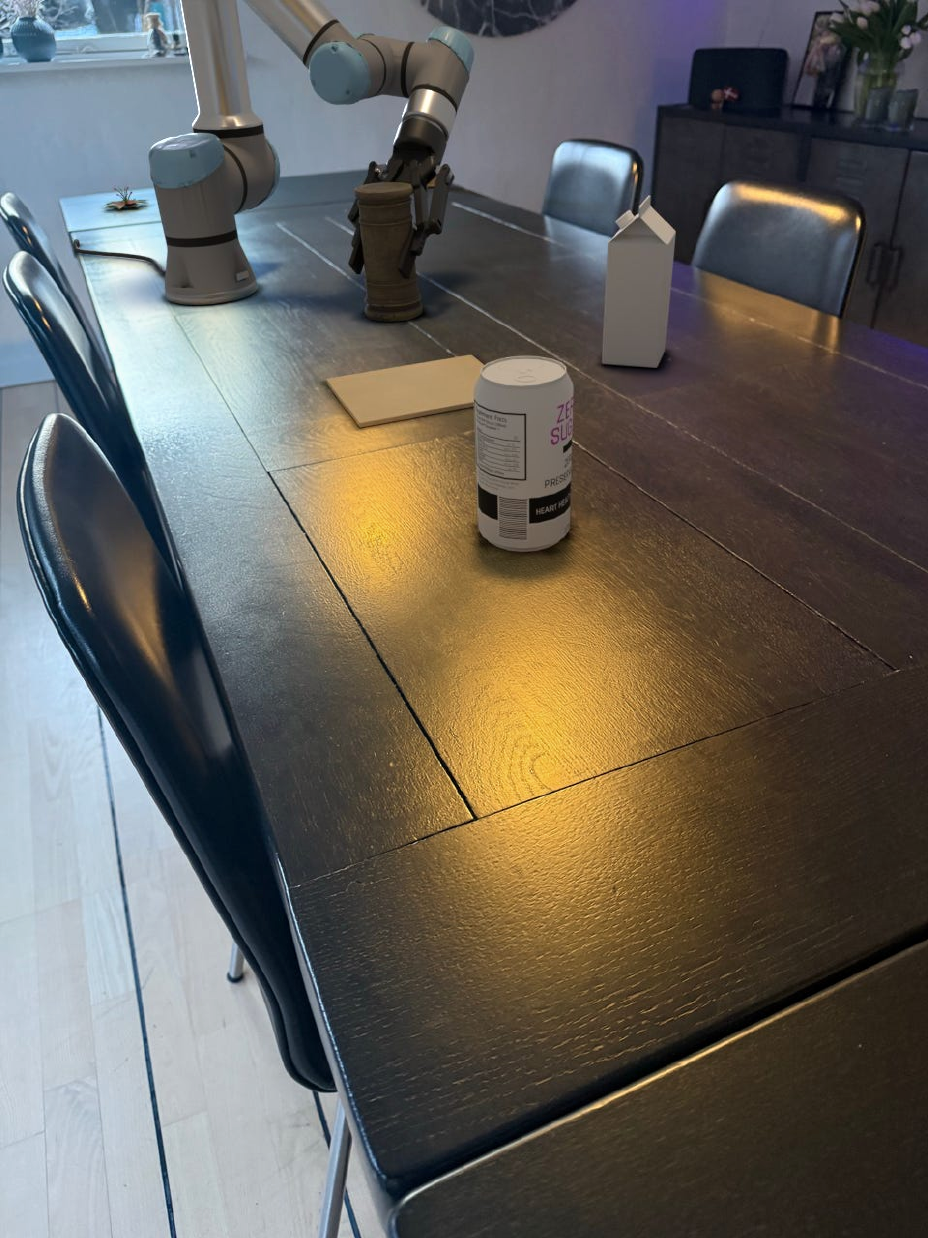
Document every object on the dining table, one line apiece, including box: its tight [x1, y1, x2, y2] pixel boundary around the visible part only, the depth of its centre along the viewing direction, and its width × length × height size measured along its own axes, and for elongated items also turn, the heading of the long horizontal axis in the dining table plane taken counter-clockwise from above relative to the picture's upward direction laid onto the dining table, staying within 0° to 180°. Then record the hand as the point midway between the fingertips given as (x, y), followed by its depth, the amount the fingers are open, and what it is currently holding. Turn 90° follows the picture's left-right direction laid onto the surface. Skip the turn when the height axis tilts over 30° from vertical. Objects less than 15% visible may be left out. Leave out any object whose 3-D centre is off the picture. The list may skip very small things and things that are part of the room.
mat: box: [325, 354, 485, 429], centre depth 111 cm, size 16×20×1 cm
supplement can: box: [473, 355, 575, 553], centre depth 77 cm, size 8×8×15 cm
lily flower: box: [102, 186, 148, 210], centre depth 222 cm, size 12×12×5 cm
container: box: [354, 182, 424, 323], centre depth 133 cm, size 9×9×18 cm
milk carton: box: [601, 195, 677, 369], centre depth 112 cm, size 7×7×19 cm
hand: (378, 271), depth 132 cm, fingers closed on container, 8 cm apart
